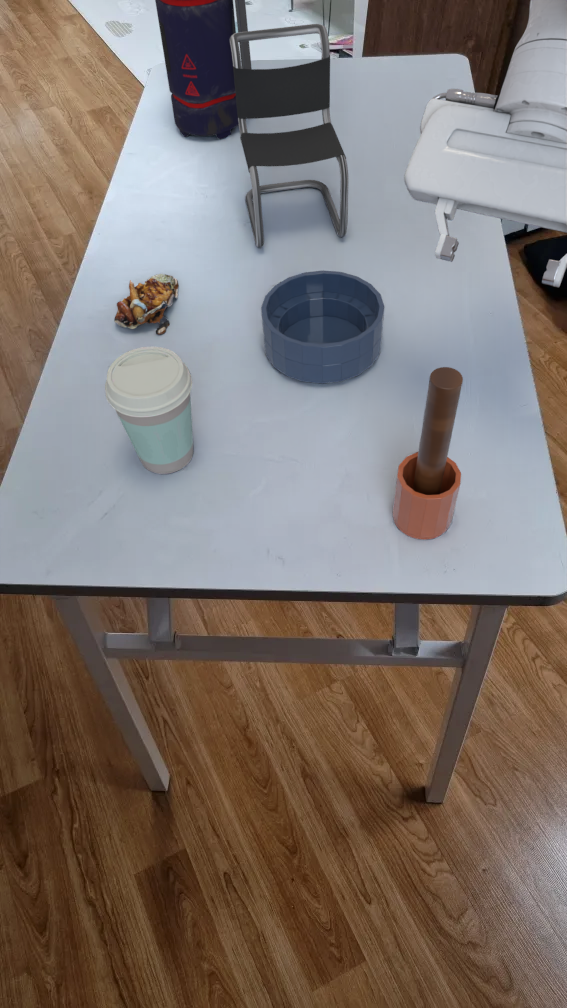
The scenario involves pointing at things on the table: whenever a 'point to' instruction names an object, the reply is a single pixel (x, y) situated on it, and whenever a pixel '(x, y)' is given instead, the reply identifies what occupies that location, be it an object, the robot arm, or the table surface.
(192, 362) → the table surface
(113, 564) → the table surface
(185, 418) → the coffee cup
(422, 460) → the brown wooden rod
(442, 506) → the crock
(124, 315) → the loaded food tray
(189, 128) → the navy blue cylinder
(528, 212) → the robot arm
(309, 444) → the table surface
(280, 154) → the chair
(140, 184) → the table surface
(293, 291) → the bowl
